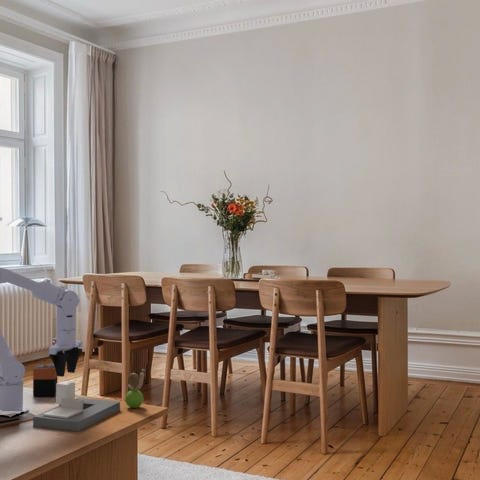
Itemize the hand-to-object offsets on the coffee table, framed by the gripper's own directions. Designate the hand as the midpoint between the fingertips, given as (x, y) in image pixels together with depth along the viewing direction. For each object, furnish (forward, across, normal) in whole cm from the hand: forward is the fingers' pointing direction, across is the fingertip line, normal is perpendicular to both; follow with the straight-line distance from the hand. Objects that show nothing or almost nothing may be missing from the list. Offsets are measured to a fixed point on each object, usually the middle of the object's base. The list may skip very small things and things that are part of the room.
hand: (65, 374), depth 192 cm
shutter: (+7, -15, -10) cm, 20 cm away
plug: (+9, 0, 0) cm, 9 cm away
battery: (+10, +8, +13) cm, 18 cm away
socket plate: (+9, -10, -11) cm, 18 cm away
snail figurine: (+10, +5, -21) cm, 24 cm away
